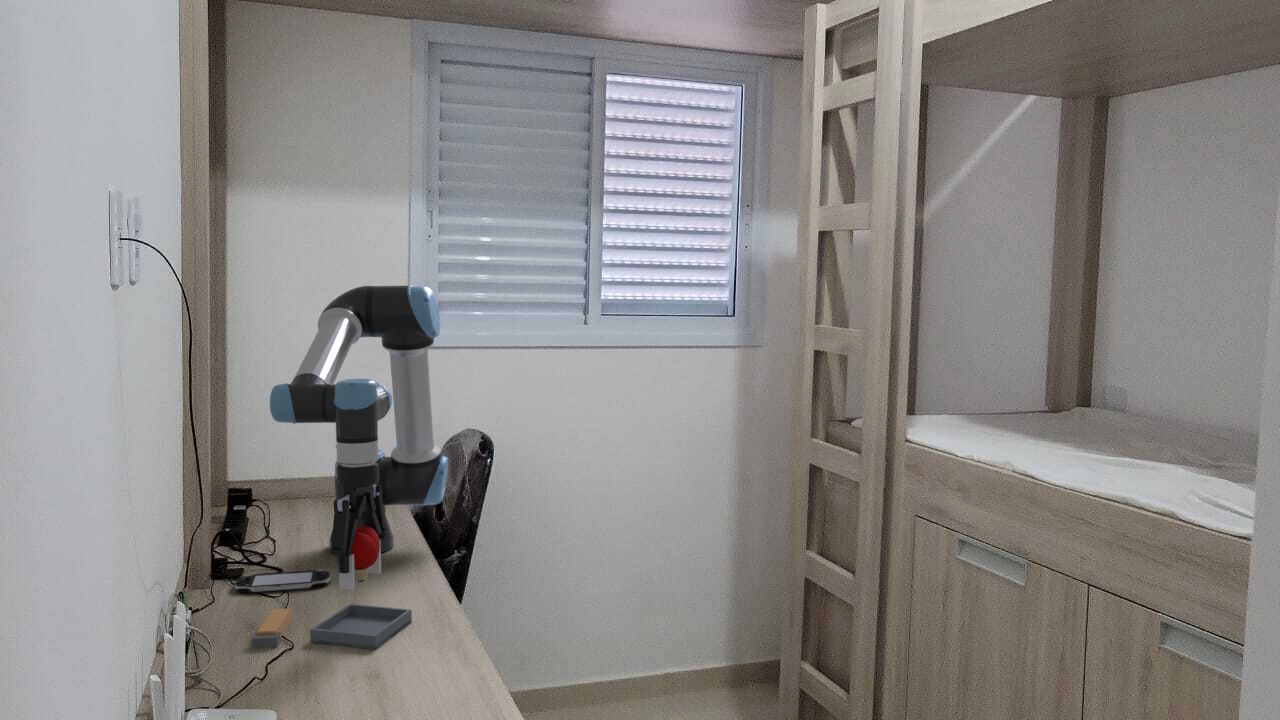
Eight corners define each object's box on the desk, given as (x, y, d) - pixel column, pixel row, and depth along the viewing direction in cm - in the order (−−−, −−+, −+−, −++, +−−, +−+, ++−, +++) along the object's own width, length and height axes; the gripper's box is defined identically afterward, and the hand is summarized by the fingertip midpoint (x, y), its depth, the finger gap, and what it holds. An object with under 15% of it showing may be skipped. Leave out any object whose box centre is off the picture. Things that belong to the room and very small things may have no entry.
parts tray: (350, 616, 203) (350, 603, 203) (411, 622, 200) (411, 609, 200) (310, 642, 190) (310, 629, 190) (375, 649, 187) (375, 636, 186)
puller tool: (271, 621, 201) (270, 609, 201) (294, 620, 201) (294, 608, 201) (251, 649, 187) (251, 635, 187) (277, 648, 188) (276, 634, 187)
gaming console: (331, 578, 229) (331, 566, 228) (329, 590, 220) (328, 579, 220) (238, 584, 224) (237, 572, 224) (232, 597, 215) (231, 585, 215)
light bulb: (366, 591, 189) (364, 537, 188) (331, 588, 190) (329, 535, 189) (389, 574, 198) (387, 523, 197) (355, 572, 199) (353, 522, 198)
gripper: (368, 451, 203) (371, 562, 205) (306, 473, 182) (310, 597, 184) (403, 452, 201) (406, 565, 203) (345, 476, 180) (348, 601, 182)
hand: (360, 580), depth 194 cm, fingers closed on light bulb, 9 cm apart
